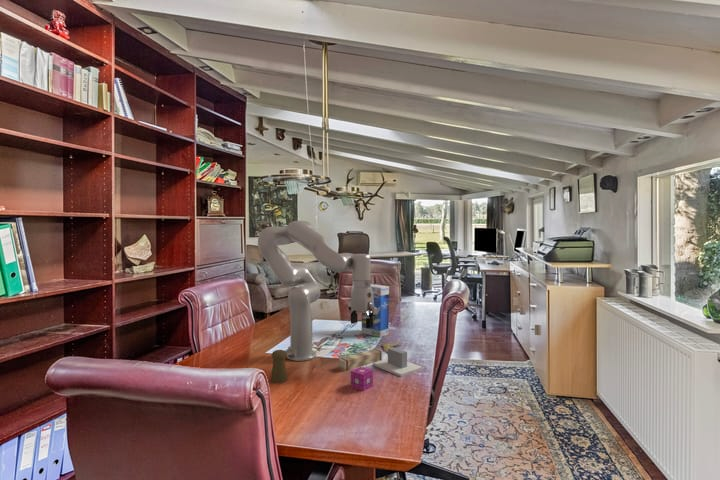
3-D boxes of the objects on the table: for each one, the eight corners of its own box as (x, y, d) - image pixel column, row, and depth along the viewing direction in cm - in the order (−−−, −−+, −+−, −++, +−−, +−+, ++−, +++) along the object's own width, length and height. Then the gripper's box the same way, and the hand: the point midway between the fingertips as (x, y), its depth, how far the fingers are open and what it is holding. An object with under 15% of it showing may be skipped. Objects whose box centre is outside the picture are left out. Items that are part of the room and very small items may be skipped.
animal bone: (381, 342, 186) (401, 339, 186) (381, 347, 186) (402, 344, 186) (385, 359, 165) (408, 356, 165) (385, 365, 165) (408, 361, 165)
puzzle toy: (360, 382, 142) (360, 366, 142) (373, 386, 138) (373, 370, 138) (350, 387, 138) (350, 371, 137) (363, 391, 134) (363, 375, 134)
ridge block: (401, 376, 147) (401, 358, 146) (373, 365, 159) (373, 348, 159) (422, 369, 154) (422, 352, 154) (393, 358, 167) (393, 342, 166)
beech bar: (345, 371, 152) (345, 361, 152) (338, 368, 155) (338, 358, 155) (382, 360, 165) (382, 350, 165) (375, 357, 168) (375, 348, 168)
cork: (279, 384, 139) (279, 354, 139) (267, 381, 143) (267, 351, 142) (290, 378, 145) (290, 349, 144) (278, 375, 148) (278, 347, 147)
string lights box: (361, 332, 207) (361, 284, 206) (370, 329, 213) (370, 283, 212) (380, 337, 198) (380, 287, 197) (389, 334, 204) (389, 285, 203)
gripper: (382, 285, 155) (382, 327, 155) (355, 280, 168) (355, 320, 168) (368, 287, 150) (368, 331, 150) (341, 282, 163) (341, 322, 164)
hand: (361, 325), depth 159 cm, fingers open, 9 cm apart
